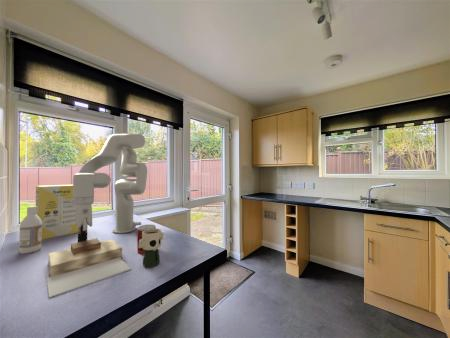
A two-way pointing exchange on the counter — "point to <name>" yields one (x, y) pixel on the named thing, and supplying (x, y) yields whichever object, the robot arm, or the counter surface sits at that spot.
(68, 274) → the cream mat
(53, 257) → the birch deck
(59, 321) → the counter surface
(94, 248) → the walnut tile
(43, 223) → the pasta box
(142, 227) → the canned food
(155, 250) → the character mug
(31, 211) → the bath foam
